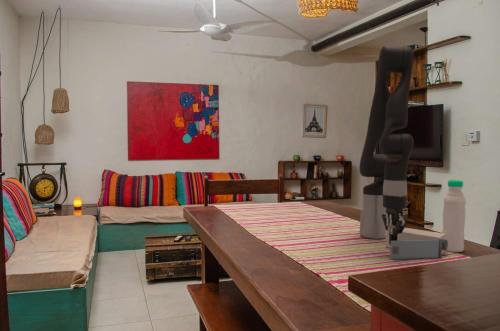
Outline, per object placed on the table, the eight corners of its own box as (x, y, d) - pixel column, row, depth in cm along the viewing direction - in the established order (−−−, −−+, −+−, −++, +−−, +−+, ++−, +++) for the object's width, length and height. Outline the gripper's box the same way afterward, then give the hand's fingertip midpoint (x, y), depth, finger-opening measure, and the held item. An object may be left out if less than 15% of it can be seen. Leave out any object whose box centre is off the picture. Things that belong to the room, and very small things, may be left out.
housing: (385, 247, 146) (386, 227, 145) (394, 243, 152) (395, 224, 151) (442, 257, 133) (443, 235, 133) (449, 253, 139) (450, 232, 139)
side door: (392, 259, 129) (392, 241, 129) (390, 258, 131) (390, 240, 131) (442, 258, 132) (443, 239, 132) (440, 256, 134) (440, 238, 133)
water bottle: (437, 248, 145) (439, 179, 144) (451, 246, 148) (454, 179, 146) (453, 253, 139) (456, 181, 137) (468, 251, 141) (471, 180, 140)
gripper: (375, 191, 140) (373, 240, 141) (394, 196, 127) (392, 250, 128) (395, 191, 141) (393, 240, 142) (416, 196, 128) (414, 249, 129)
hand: (393, 244), depth 135 cm, fingers closed
